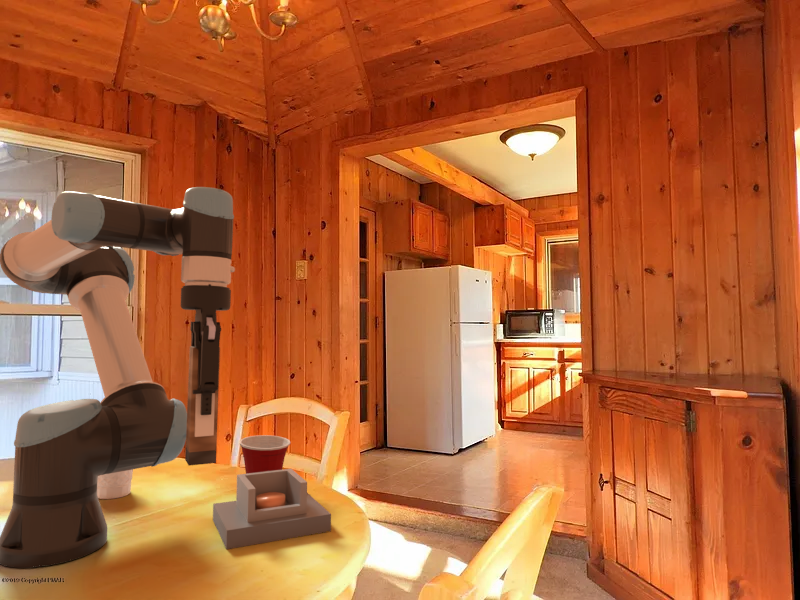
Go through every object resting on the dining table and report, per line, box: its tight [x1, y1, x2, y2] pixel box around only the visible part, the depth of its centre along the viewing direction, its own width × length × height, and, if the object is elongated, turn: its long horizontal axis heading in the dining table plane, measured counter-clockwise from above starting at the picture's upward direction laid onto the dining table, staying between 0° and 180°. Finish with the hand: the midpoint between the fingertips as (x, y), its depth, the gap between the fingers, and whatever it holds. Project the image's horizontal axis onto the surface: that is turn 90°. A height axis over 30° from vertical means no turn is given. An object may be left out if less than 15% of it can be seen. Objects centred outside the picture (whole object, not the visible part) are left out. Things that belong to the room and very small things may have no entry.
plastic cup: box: [239, 434, 291, 474], centre depth 116 cm, size 11×11×12 cm
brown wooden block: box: [184, 345, 221, 467], centre depth 85 cm, size 4×4×18 cm
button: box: [256, 492, 285, 510], centre depth 99 cm, size 5×5×2 cm
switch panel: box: [212, 468, 332, 550], centre depth 99 cm, size 18×15×8 cm
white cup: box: [97, 469, 134, 500], centre depth 116 cm, size 8×8×10 cm
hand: (201, 432), depth 85 cm, fingers closed on brown wooden block, 4 cm apart
